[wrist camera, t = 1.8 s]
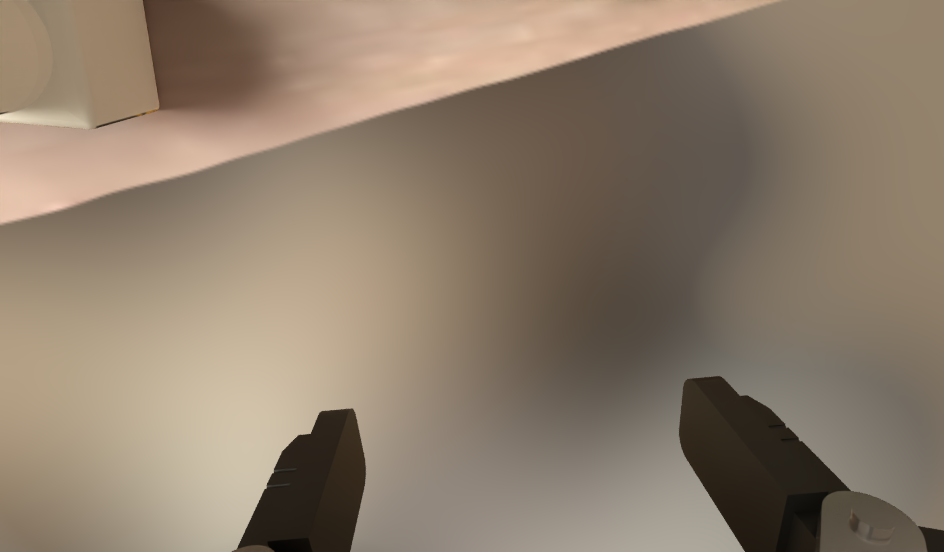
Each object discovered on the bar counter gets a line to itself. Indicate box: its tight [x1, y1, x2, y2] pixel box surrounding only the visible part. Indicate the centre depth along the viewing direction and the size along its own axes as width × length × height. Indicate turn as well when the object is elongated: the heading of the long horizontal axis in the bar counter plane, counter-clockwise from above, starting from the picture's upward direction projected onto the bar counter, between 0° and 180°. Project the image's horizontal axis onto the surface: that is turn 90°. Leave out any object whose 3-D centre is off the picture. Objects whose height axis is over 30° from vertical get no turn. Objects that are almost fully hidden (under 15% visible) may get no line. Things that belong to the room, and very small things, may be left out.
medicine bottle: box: [0, 0, 159, 129], centre depth 21 cm, size 7×7×12 cm
